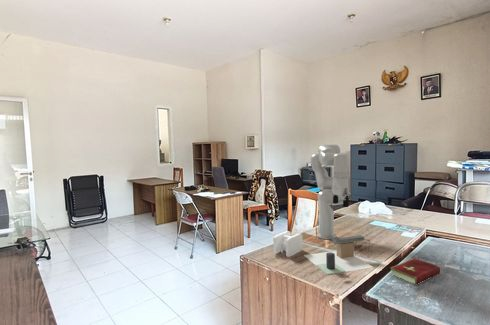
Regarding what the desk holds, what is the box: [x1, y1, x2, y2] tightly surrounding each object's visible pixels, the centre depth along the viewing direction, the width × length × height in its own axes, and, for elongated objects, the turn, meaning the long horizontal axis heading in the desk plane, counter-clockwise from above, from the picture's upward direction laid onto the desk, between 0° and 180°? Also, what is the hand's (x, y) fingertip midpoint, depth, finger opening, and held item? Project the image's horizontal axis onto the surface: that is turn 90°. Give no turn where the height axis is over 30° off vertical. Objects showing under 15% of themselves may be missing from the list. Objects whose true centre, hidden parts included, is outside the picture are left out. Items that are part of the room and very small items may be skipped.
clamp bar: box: [331, 235, 365, 245], centre depth 149 cm, size 3×18×2 cm, turn 105°
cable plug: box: [326, 251, 335, 270], centre depth 134 cm, size 4×4×7 cm
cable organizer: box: [272, 230, 304, 258], centre depth 157 cm, size 15×11×12 cm
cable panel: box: [303, 242, 373, 276], centre depth 143 cm, size 24×26×9 cm
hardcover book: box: [390, 257, 441, 285], centre depth 130 cm, size 12×21×4 cm, turn 120°
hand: (340, 205), depth 155 cm, fingers open, 9 cm apart
